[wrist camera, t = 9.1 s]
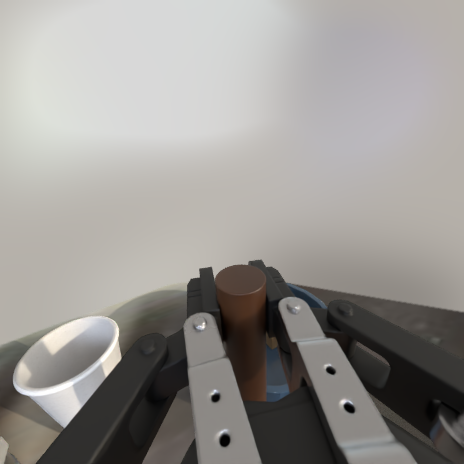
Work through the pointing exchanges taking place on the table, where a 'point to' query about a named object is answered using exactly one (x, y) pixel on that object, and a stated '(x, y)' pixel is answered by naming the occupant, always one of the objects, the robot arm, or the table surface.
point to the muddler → (244, 326)
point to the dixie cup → (68, 365)
